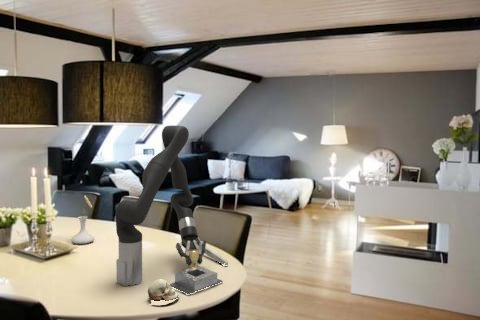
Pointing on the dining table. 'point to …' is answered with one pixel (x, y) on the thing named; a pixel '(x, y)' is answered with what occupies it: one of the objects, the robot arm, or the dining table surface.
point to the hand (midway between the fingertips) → (194, 263)
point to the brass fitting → (194, 257)
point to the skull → (161, 291)
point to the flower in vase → (83, 228)
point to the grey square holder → (194, 279)
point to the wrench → (214, 255)
